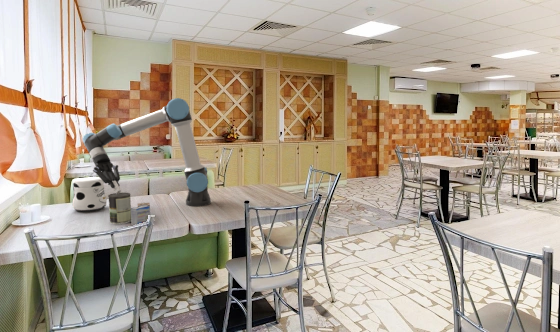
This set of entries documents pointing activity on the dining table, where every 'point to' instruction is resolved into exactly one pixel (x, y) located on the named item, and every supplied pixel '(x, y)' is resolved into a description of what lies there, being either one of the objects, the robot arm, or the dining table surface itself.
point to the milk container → (89, 194)
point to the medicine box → (139, 214)
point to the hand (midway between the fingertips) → (118, 192)
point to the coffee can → (120, 208)
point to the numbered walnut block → (143, 204)
